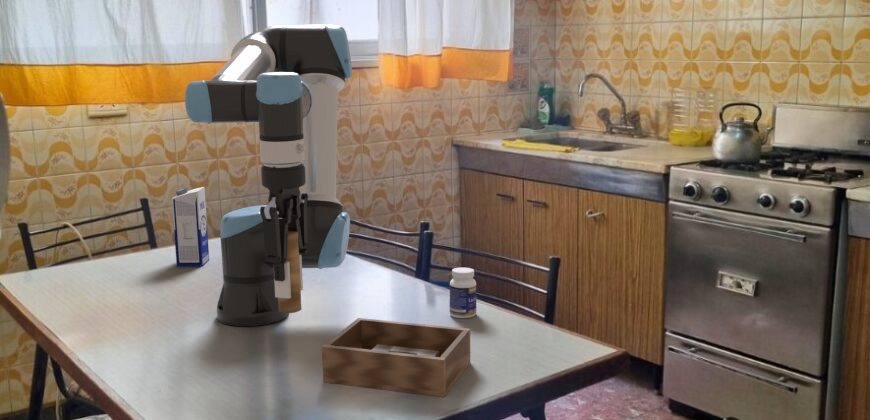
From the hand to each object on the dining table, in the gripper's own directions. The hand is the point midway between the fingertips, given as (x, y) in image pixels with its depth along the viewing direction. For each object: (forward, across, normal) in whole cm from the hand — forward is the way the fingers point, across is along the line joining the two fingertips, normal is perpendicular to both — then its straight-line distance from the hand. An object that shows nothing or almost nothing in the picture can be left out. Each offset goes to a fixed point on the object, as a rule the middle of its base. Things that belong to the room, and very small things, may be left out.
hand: (289, 293), depth 157 cm
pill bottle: (+15, +37, -21) cm, 45 cm away
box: (+14, +3, -19) cm, 24 cm away
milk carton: (+16, +58, +59) cm, 84 cm away
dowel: (+3, 0, 0) cm, 3 cm away
